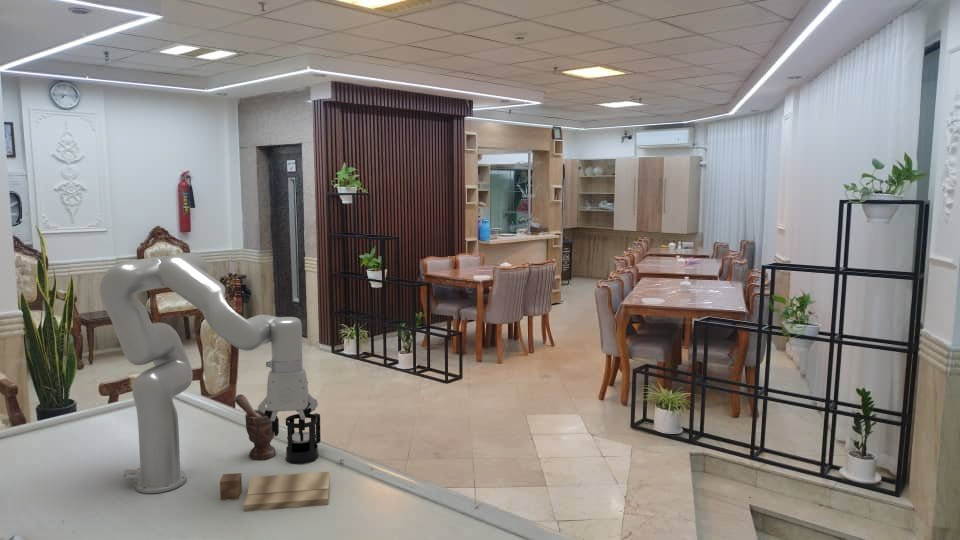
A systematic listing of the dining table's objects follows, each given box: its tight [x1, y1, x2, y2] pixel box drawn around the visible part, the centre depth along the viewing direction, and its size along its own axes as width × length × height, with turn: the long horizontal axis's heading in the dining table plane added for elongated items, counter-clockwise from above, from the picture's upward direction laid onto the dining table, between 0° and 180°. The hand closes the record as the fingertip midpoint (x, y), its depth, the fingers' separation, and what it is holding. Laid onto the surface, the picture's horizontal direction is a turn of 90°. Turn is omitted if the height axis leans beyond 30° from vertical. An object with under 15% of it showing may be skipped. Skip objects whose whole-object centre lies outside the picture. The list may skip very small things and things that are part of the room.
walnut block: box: [219, 472, 243, 501], centre depth 170 cm, size 4×4×5 cm
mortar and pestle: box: [234, 394, 277, 461], centre depth 193 cm, size 12×9×20 cm
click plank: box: [247, 471, 330, 494], centre depth 173 cm, size 20×7×2 cm, turn 101°
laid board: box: [243, 487, 330, 512], centre depth 166 cm, size 20×6×2 cm, turn 101°
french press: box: [285, 381, 322, 465], centre depth 194 cm, size 12×9×23 cm
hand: (288, 433), depth 172 cm, fingers open, 5 cm apart
